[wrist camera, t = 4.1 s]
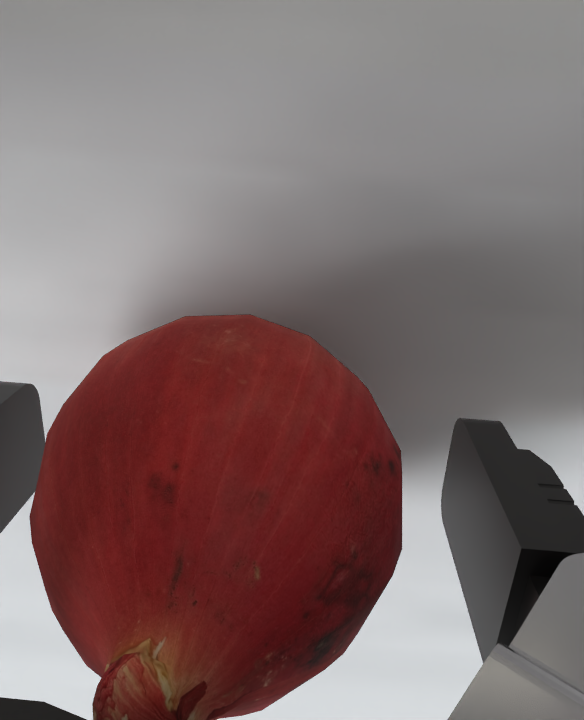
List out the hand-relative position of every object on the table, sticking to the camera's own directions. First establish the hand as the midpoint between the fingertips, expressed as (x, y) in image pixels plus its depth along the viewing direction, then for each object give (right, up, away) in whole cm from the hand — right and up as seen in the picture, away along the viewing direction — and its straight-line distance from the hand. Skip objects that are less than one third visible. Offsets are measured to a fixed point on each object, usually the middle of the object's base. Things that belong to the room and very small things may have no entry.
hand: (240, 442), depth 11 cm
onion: (0, +1, +2) cm, 2 cm away
